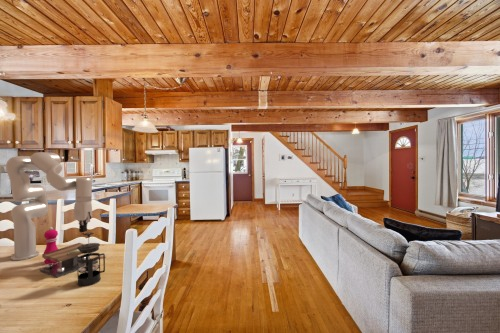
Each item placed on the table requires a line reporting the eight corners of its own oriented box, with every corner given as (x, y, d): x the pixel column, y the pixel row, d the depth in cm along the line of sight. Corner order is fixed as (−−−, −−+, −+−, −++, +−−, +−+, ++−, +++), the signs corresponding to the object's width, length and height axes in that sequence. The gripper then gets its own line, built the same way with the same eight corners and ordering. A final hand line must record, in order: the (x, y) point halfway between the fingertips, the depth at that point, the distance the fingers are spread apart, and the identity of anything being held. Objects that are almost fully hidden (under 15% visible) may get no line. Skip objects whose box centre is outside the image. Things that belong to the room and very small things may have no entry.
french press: (76, 289, 108) (75, 237, 108) (74, 281, 115) (73, 233, 115) (106, 280, 116) (106, 232, 115) (102, 273, 123) (102, 228, 122)
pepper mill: (50, 265, 133) (49, 229, 132) (39, 264, 134) (39, 228, 134) (62, 260, 140) (62, 225, 139) (52, 259, 141) (52, 225, 141)
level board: (42, 257, 126) (42, 252, 126) (79, 245, 142) (78, 241, 142) (58, 262, 119) (58, 257, 119) (95, 249, 136) (95, 244, 136)
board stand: (39, 271, 125) (39, 259, 125) (80, 257, 143) (80, 246, 143) (57, 277, 118) (56, 264, 118) (97, 262, 137) (97, 251, 136)
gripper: (68, 198, 137) (68, 231, 137) (84, 201, 131) (84, 235, 131) (82, 197, 144) (82, 228, 144) (98, 199, 137) (98, 232, 138)
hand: (83, 231), depth 138 cm, fingers closed
